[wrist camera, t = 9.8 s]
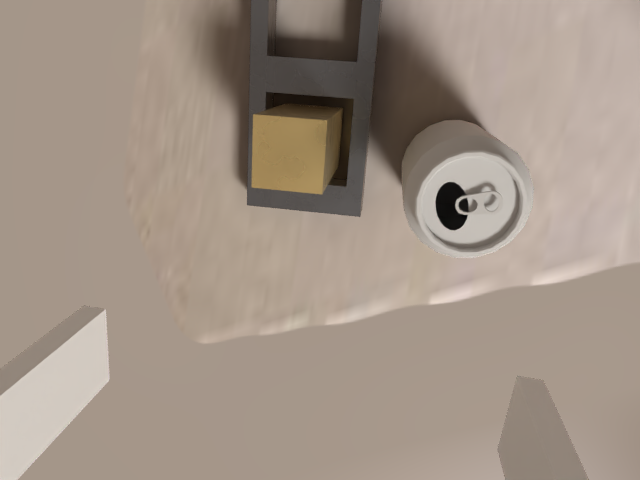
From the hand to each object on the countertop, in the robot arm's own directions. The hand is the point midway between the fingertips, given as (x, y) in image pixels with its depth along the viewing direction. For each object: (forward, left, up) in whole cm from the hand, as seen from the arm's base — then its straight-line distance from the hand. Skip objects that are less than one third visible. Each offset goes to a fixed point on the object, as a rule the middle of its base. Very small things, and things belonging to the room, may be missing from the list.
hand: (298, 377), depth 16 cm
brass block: (+4, -4, -27) cm, 27 cm away
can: (-7, -2, -27) cm, 28 cm away
